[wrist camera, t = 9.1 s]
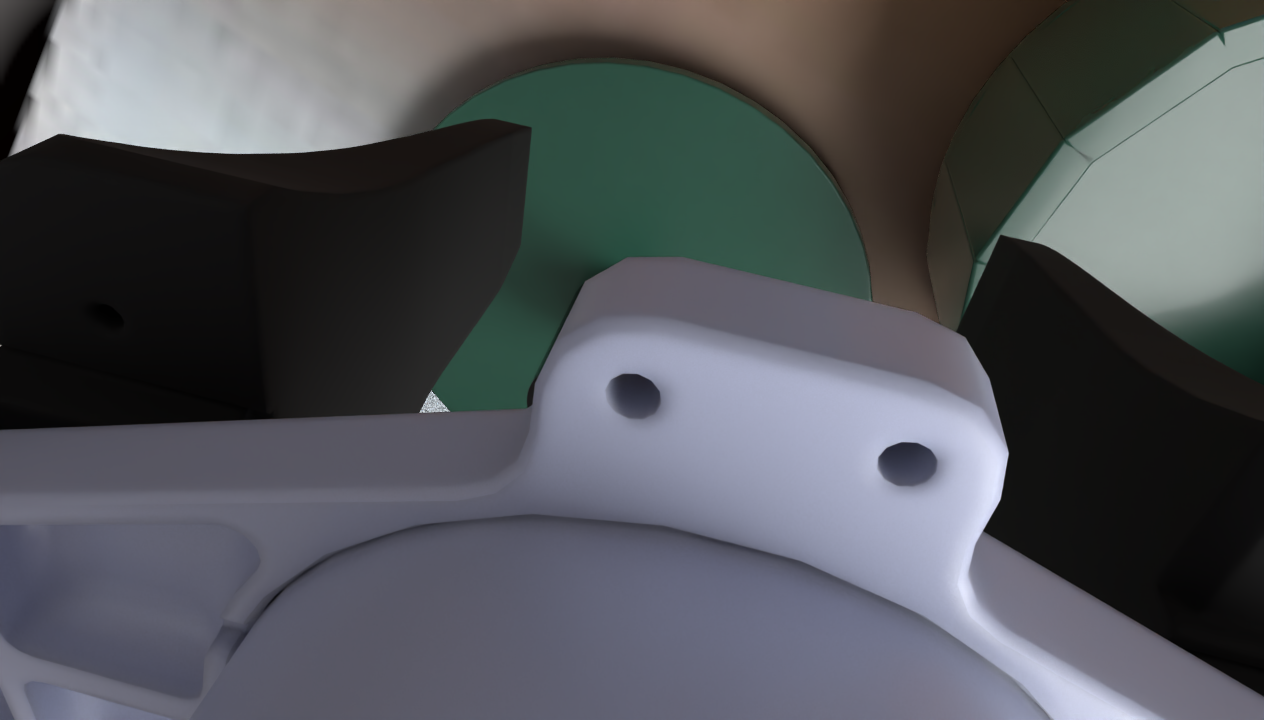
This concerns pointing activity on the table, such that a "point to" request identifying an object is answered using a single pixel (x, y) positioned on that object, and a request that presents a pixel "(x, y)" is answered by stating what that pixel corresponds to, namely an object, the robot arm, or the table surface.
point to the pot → (1122, 166)
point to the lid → (643, 204)
